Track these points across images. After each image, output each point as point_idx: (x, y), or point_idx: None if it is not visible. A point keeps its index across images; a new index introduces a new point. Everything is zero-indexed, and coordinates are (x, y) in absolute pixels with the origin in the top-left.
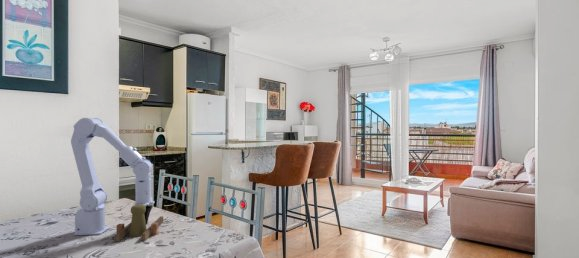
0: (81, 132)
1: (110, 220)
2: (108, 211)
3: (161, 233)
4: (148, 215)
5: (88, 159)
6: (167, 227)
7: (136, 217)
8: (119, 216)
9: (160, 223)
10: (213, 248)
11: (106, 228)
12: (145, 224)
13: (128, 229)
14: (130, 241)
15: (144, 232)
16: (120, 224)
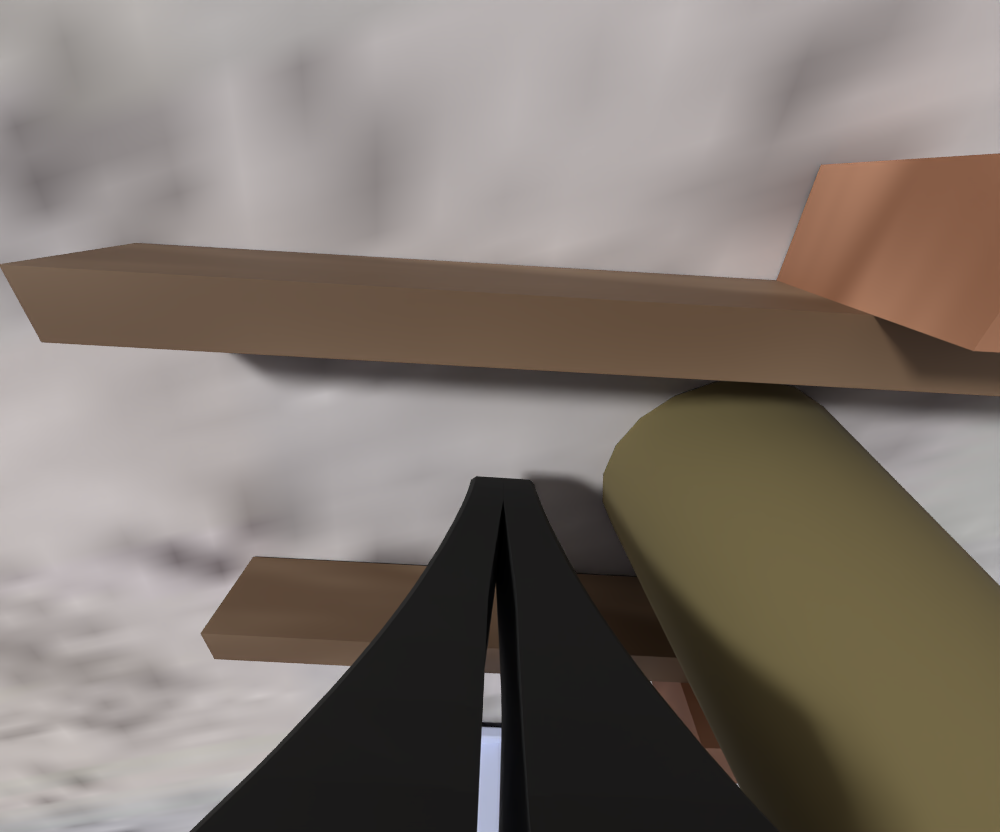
0: None
1: (230, 749)
2: (19, 793)
3: (898, 66)
4: (469, 602)
5: None
6: (482, 15)
7: None
8: (104, 730)
9: (303, 259)
10: None
11: (482, 738)
12: (846, 492)
13: (654, 620)
14: (987, 492)
15: None
16: (726, 766)
